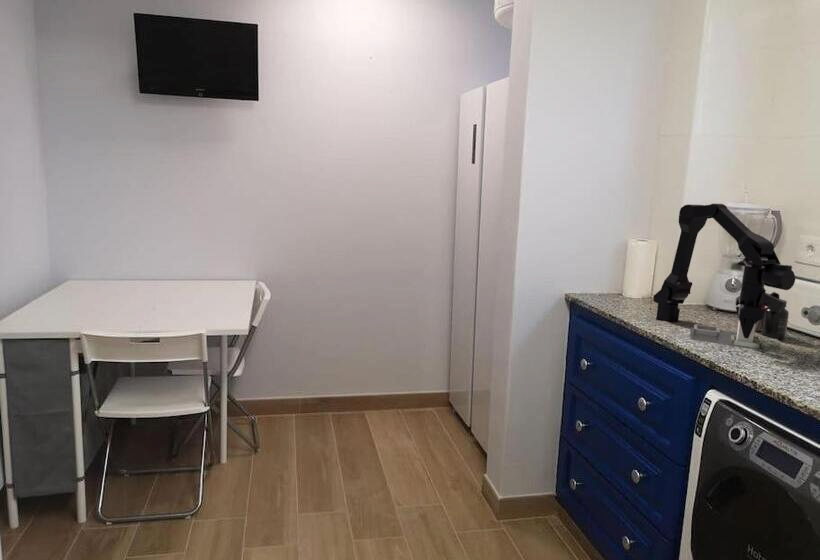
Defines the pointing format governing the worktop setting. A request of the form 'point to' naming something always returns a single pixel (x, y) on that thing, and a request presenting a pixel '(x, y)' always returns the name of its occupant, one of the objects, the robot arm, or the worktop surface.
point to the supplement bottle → (775, 323)
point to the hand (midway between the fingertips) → (745, 335)
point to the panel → (720, 337)
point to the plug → (740, 334)
